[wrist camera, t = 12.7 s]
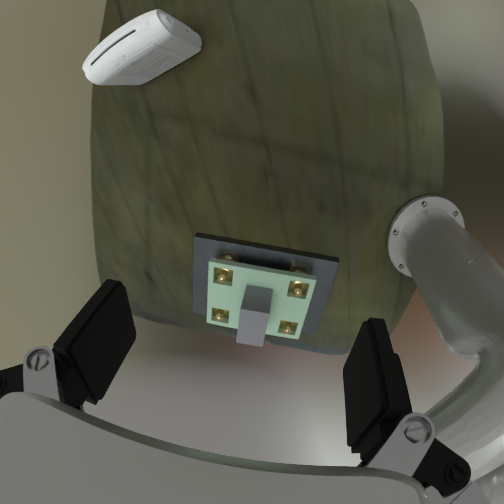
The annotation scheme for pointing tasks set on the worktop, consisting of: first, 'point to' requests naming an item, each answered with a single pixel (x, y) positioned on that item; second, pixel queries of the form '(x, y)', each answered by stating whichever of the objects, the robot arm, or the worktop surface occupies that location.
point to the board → (260, 278)
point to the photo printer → (141, 50)
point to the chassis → (262, 257)
